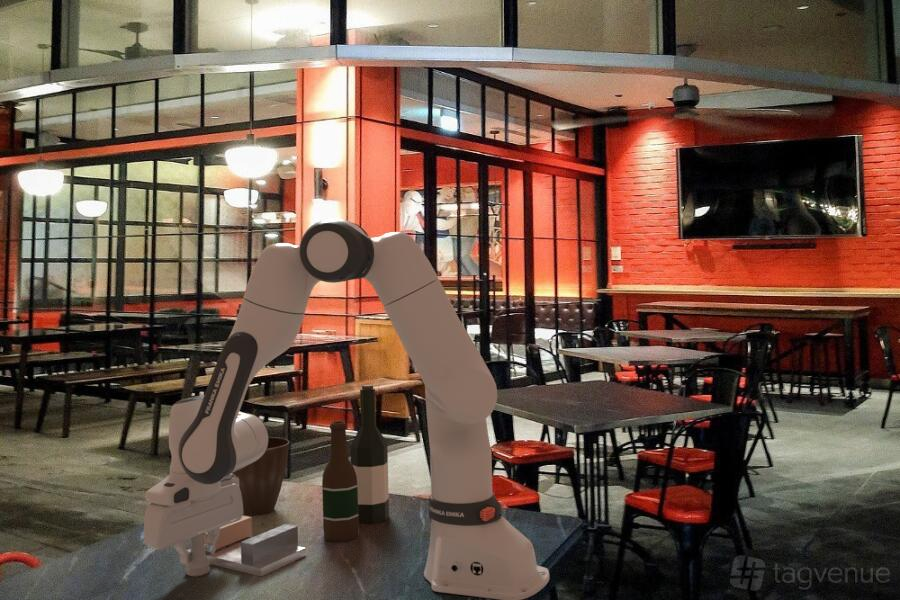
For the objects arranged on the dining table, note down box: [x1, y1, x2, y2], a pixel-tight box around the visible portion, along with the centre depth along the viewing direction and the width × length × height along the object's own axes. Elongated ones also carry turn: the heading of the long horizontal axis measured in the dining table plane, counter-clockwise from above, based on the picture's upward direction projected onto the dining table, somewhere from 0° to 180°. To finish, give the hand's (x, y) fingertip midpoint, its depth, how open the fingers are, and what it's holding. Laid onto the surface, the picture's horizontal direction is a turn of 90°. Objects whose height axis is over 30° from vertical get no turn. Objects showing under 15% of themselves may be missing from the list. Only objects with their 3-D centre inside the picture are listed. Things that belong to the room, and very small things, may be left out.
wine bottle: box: [349, 384, 390, 525], centre depth 169 cm, size 8×8×30 cm
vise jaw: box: [204, 515, 253, 550], centre depth 149 cm, size 3×12×4 cm, turn 149°
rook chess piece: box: [185, 533, 211, 577], centre depth 139 cm, size 4×4×8 cm
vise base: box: [187, 523, 307, 577], centre depth 146 cm, size 20×12×6 cm, turn 59°
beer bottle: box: [321, 420, 360, 543], centre depth 157 cm, size 8×8×24 cm
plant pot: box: [233, 436, 290, 516], centre depth 177 cm, size 15×15×16 cm
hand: (197, 557), depth 139 cm, fingers open, 4 cm apart
